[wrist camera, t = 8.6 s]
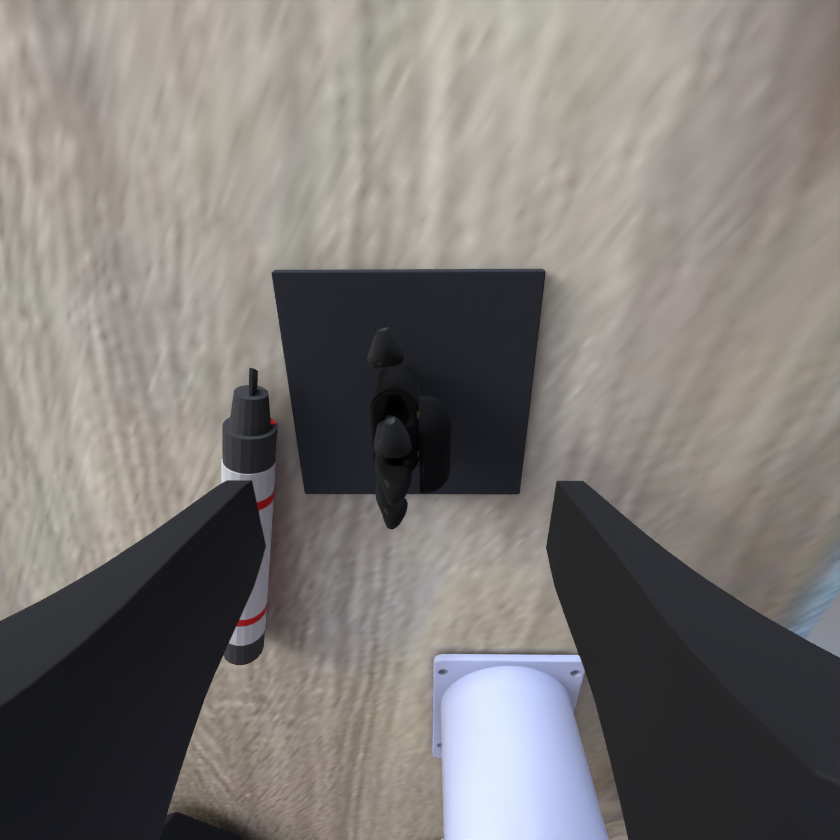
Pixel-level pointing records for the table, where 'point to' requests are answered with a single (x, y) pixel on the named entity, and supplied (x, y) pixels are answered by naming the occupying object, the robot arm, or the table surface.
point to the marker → (255, 460)
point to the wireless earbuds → (404, 430)
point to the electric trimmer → (192, 829)
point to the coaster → (424, 352)
